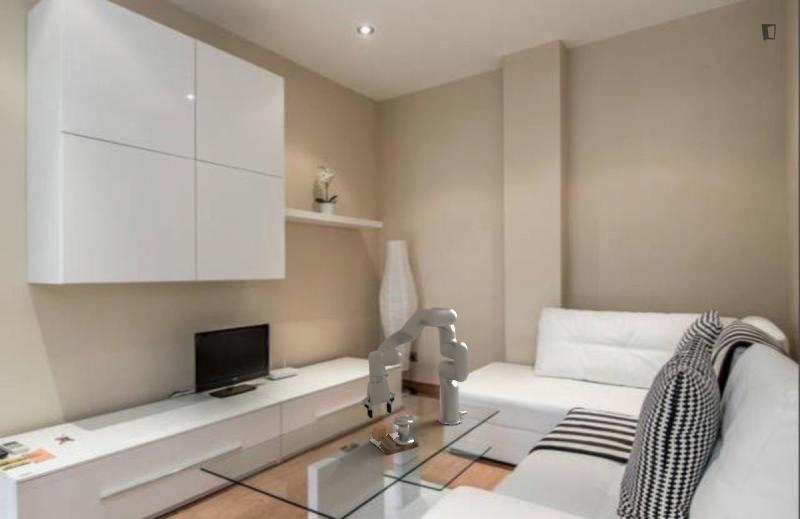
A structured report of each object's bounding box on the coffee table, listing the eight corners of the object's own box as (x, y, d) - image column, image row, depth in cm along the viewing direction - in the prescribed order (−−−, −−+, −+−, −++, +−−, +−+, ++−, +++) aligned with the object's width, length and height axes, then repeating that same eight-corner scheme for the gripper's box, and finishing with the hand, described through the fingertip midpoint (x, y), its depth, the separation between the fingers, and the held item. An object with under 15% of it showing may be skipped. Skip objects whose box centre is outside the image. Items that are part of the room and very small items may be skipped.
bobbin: (407, 436, 210) (406, 415, 210) (417, 442, 202) (417, 420, 202) (390, 440, 206) (390, 418, 206) (400, 447, 198) (399, 424, 198)
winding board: (398, 433, 217) (398, 425, 217) (418, 446, 202) (418, 437, 202) (369, 441, 210) (368, 432, 210) (387, 455, 194) (386, 445, 194)
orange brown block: (381, 437, 210) (381, 424, 210) (386, 440, 206) (385, 427, 206) (373, 439, 207) (372, 426, 207) (377, 442, 204) (377, 429, 204)
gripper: (390, 373, 214) (392, 408, 215) (357, 380, 206) (359, 417, 206) (398, 376, 208) (400, 413, 208) (364, 383, 199) (366, 421, 200)
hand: (379, 415), depth 207 cm, fingers open, 9 cm apart
